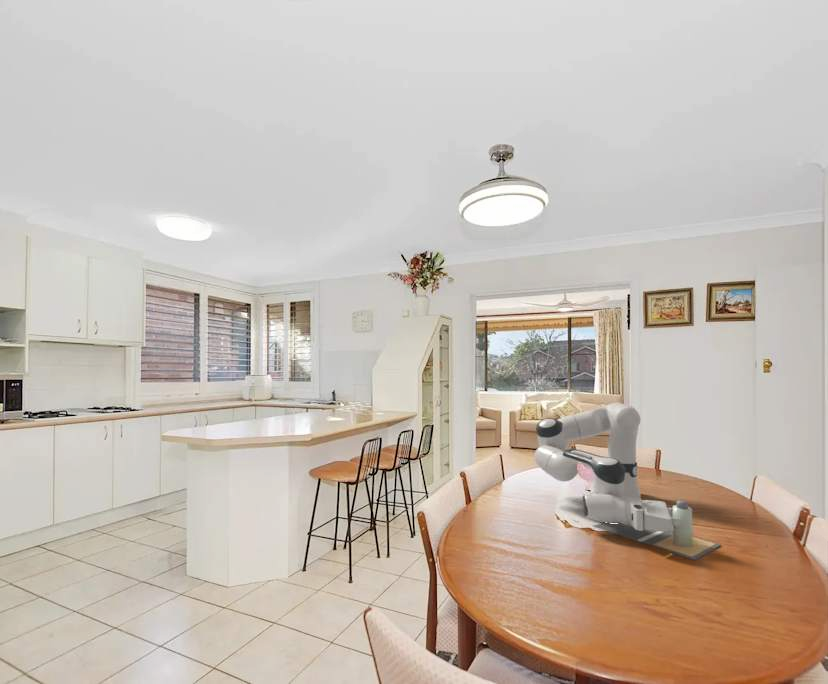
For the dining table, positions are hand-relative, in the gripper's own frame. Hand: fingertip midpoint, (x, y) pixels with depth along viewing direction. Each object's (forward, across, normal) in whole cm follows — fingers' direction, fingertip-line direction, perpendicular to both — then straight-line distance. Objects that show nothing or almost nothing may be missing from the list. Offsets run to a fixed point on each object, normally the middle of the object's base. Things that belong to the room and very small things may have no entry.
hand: (685, 518), depth 141 cm
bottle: (-1, 0, -8) cm, 8 cm away
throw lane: (-9, -4, -8) cm, 13 cm away
